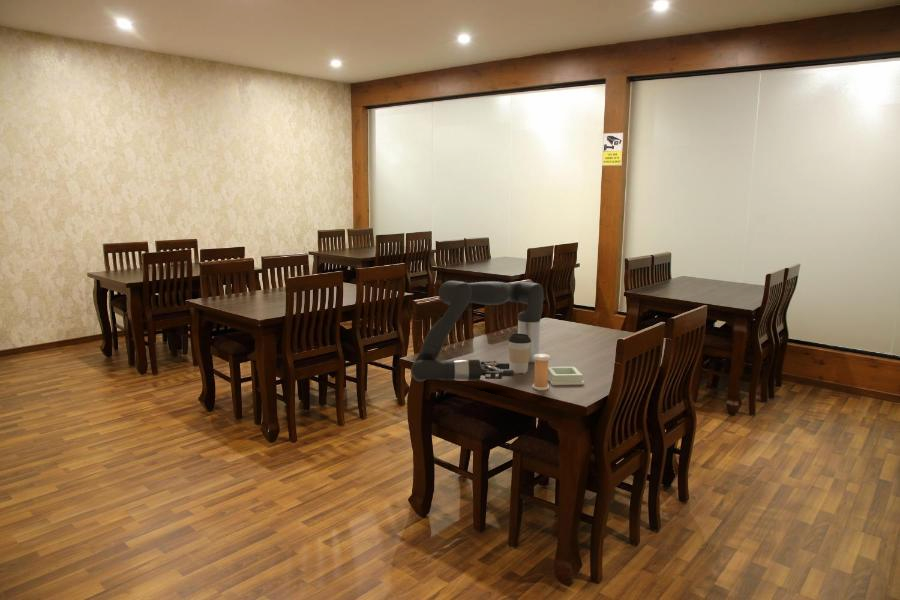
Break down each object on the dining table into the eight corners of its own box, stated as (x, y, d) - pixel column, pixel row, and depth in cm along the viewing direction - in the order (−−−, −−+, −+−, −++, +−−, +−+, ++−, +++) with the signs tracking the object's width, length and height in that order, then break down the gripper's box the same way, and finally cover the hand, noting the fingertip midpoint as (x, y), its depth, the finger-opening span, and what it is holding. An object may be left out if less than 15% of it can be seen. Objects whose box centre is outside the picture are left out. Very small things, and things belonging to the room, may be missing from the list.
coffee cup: (528, 367, 243) (529, 331, 240) (532, 374, 234) (533, 337, 231) (506, 367, 243) (507, 331, 240) (509, 374, 234) (510, 337, 231)
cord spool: (530, 385, 221) (531, 353, 219) (546, 385, 221) (548, 353, 219) (534, 390, 215) (535, 358, 213) (550, 390, 215) (552, 358, 213)
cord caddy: (544, 375, 233) (544, 366, 233) (574, 374, 234) (575, 366, 234) (552, 384, 221) (552, 375, 221) (583, 384, 222) (584, 375, 222)
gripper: (469, 365, 207) (515, 365, 208) (464, 354, 221) (508, 354, 222) (468, 386, 208) (514, 385, 210) (464, 374, 222) (507, 373, 224)
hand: (511, 369), depth 216 cm, fingers open, 8 cm apart
